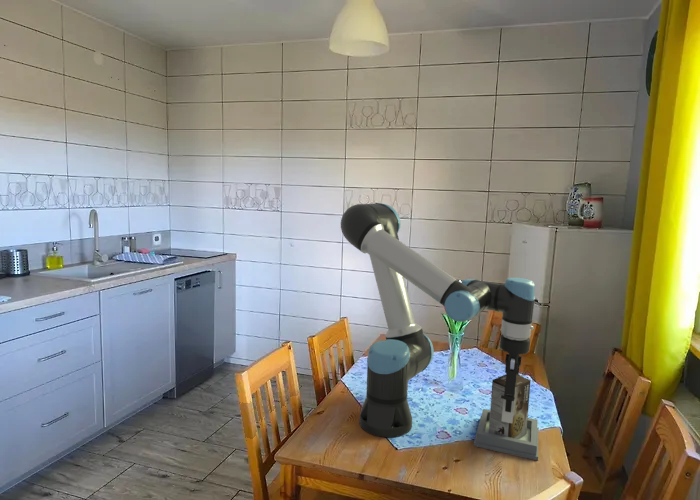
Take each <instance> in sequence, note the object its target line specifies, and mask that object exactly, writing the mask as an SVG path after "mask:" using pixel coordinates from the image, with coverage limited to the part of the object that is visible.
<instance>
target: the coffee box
mask: <svg viewBox="0 0 700 500" xmlns="http://www.w3.org/2000/svg"><path fill="white" fill-rule="evenodd" d="M491 381H492V382H491V384H492V386H491V393H490V394H491V397H490V409H489V410H490V421H489V433H491V434H496V435H501V436H505V437H510V438H514V439H519V438H520V437H522V436H524V435H526V432H527V419H528V418H529V417H528V415H529V405H530V404H529V402H530V394H531V393H530V392H531V391H530V390H531V379H529V378H526V377H524V376H521V375H520V374H519V375H518V376H516V385H515V395H514V397H515V401H514V412H513V422H512V423H507V422H503V421H502V410H503V398H501V395H503V396H504V392H505V383H506V374H503V375H502V376H498V377H496V378H494V379H492V380H491ZM507 395H508V394H507Z"/></svg>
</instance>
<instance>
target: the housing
mask: <svg viewBox="0 0 700 500" xmlns="http://www.w3.org/2000/svg"><path fill="white" fill-rule="evenodd" d="M489 421H490V409H487V408H482V411H481V415H480V418H479V422H478V425H477V429H476V432H475V435H474V441H473V447H477V448H481V449H485V450H490V451H493V452H499V453H504V454H507V455H513V456H516V457H521V458H523V459H529V460H534V461H539V436H540V435H539V433H540V432H539V427H538V419H537V418H536V419H535V418H531V417H528V419H527V432H526V435H524V436H522V437H520V438H519V439H514V438H510V437H505V436H501V435H496V434H491V433H489Z"/></svg>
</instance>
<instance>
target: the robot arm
mask: <svg viewBox="0 0 700 500" xmlns="http://www.w3.org/2000/svg"><path fill="white" fill-rule="evenodd" d="M400 229H401V218H400V215H399V213H398V212H397V211H396V209H395V208H394V207H393V206H391V205H389V204H387V203H381V202H375V203H358V204H357V203H356V204H354V205H351V206H350V207H348V208H346V210H345V211H344V212H343V214H342V216H341V220H340V230H341V234H342V235H343V237H344V238H345V240H346V241H348V243H349V244H350V245H351V246H353V247H355V248H356V249H357V250H358V251H360V252H361V253H362V254H368V255H369V258H370V261H371V267H372V270H373V274H374V277H375V282H376V287H377V291H378V295H379V298H380V301H381V307H382V309H383V313H384V317H385V321H386V327H387V331H386V333H385V336H384V337H385V339H384V340H383V339H382V340H378V341H376V342H374V343H373V344H372V345H371V346H370V347H369V349H368V352H367V359H366V362H367V363H366V364H367V368H366V369H367V370H366V371H367V372H366V396H365V400H364V402H363V404H362V407H361V410H360V412H359V426H360V428H361V429H362V430H364V431H365V432H366V433H369V434H371V435H373V436H376V437H382V438H383V437H384V438H396V437H400V436H404V435H406V434H408V433H409V432H410V431H411V429H412V427H413V416H412V412H411V409H410V406H409V402H408V390H409V389H408V387H409V385H408V384H409V381H410V380H412V379H413V378H415V377H416V376H417V375H419V374H420V373H421V372H424V370H426V369H427V368H428V367H429V365H430V364H431V362H432V361H433V358H434V353H435V351H434V350H435V349H434V345H433V342H432V341H431V339H430V338H429V336H427V335H426V334H425V333H424V331H423V327H422V326H421V325H419V324H418V323H416V320H415V316H414V311H413V308H412V305H411V301H410V297H409V293H408V290H407V286H406V281H405V279H406V280H407V281H409V282H410V283H411V284H412V285H413V286H415V287H416V288H418V289H419V290H420V291H422V292H424V293H425V294H427V295H428V296H429V297H430V298H432V299H433V300H435V301H436V302H438V303H439V304H441V306H443V307H444V311H445V313H446V315H447V316H448V317H449V318H450V319H451V320H452V321H454V322H459V323H462V322H467V321H469V320H473V319H475V317H476V316H477V315H478V314H480V313H482V312H483V311H485V310H487V311H492V312H493V311H494V312H501V313H502V318H501V327H500V328H501V330H500V333H501V335H500V339H499V341H500V342H499V348H500V349H501V350H502V351H504V352H506V354H505V359H504V363H505V369H504V373H505V375H506V383H505V392H504V396H503V395H501V398H503V410H502V421H503V422H507V423H512V422H513V412H514V401H515V397H514V395H515V385H516V376H518V375H520V367H521V366H522V365H521V364H522V356H521V355H526V354H528V353H529V352H530V348H531V339H530V338H531V334H532V331H533V330H534V329H535V327H534V326H533V325H532V323H533V314H534V308H535V307H534V305H535V300H536V296H535V294H536V293H535V290H536V285H535V283H534V281H533V280H531V279H527V278H525V277H524V278H523V277H508V278H506V279H505V282H504V283H496V282H489V281H484V280H478V279H468V278H467V279H466V278H465V279H463V280H462V281H459V280H458V279H457V278H455V277H454V276H452V275H450V274H449V273H448V272H446V271H445V270H443V269H442V268H440V267H439V266H438V265H436V264H435V263H433V262H432V261H430V260H429V259H427V258H426V257H424V256H423V255H421V254H419V253H418V252H417V251H415V250H414V249H412V248H411V247H410V246H408V245H406V244H405V243H403V242H402V241H400V238H399V235H398V233H399V231H400ZM507 353H508V354H507ZM507 394H508V395H507Z"/></svg>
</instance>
